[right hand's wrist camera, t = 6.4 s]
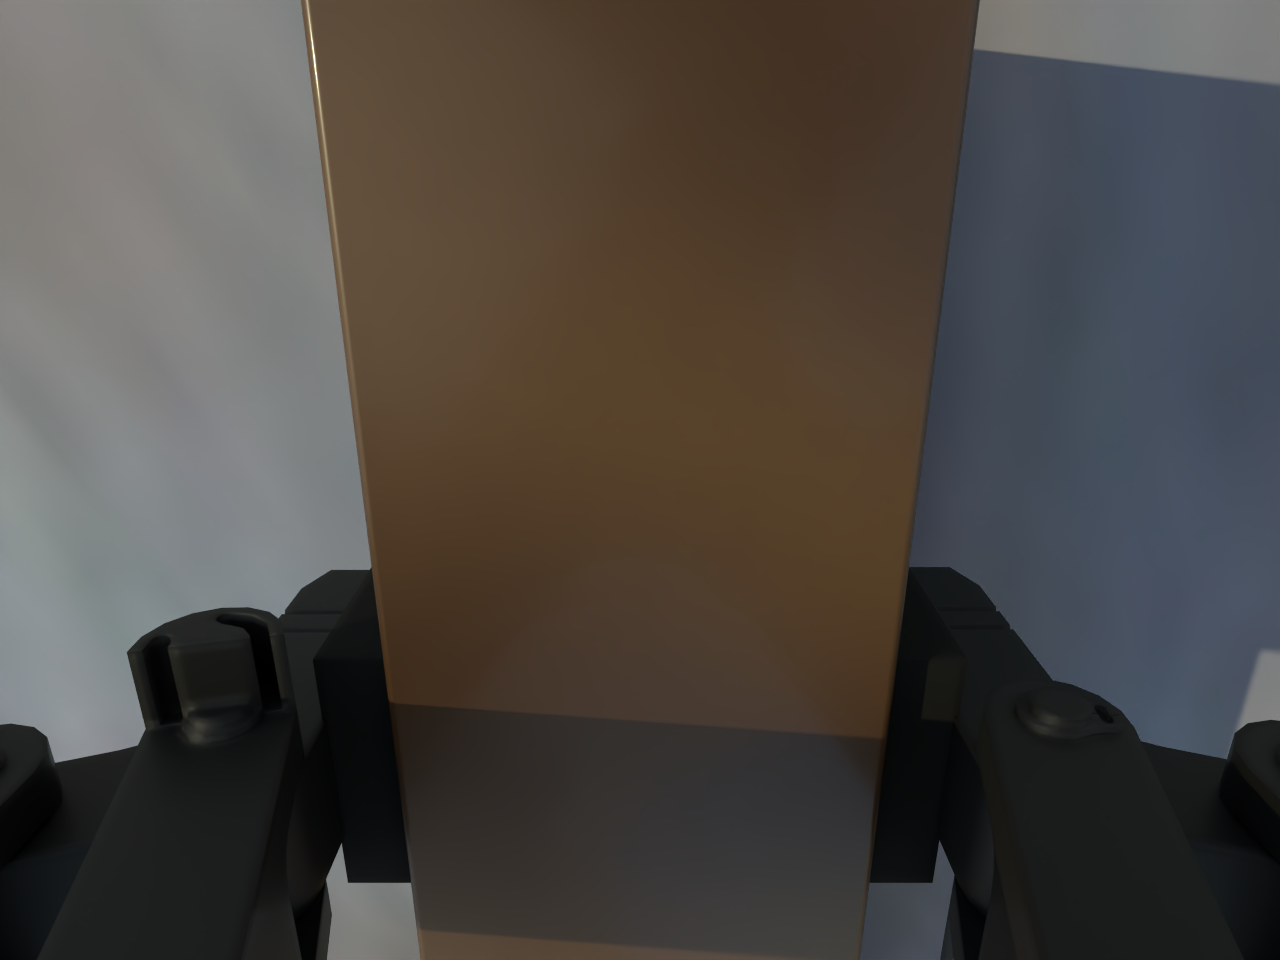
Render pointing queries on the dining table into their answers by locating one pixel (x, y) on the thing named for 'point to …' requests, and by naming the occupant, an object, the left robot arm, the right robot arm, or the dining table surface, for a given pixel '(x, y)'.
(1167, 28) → the dining table surface
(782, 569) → the beam
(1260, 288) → the dining table surface
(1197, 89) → the dining table surface
